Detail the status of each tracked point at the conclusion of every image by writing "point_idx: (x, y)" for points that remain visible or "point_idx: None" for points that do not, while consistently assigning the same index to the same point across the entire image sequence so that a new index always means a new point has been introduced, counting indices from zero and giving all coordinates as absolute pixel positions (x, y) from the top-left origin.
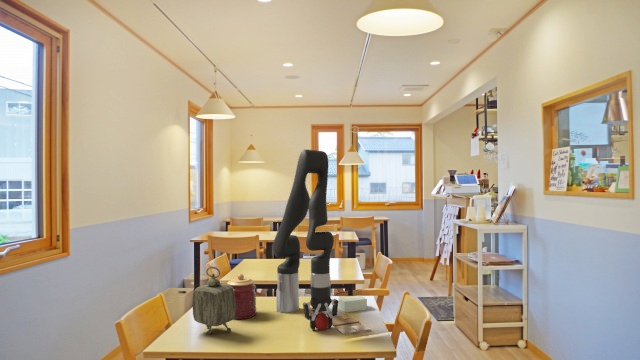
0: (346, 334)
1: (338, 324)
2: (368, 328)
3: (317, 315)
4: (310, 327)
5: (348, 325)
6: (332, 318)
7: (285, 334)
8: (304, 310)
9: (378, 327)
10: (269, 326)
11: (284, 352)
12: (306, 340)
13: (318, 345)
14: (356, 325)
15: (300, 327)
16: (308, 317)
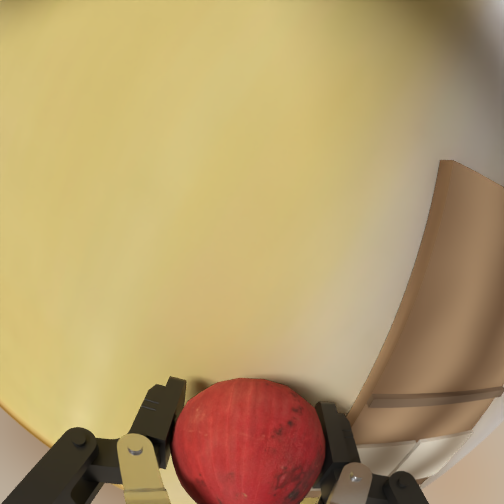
0: (314, 493)
1: (404, 405)
2: (435, 472)
3: (195, 501)
4: (152, 390)
5: (436, 416)
6: (490, 237)
7: (18, 275)
8: (31, 492)
9: (491, 427)
10: (3, 73)
11: (20, 422)
12: (105, 420)
13: None
14: (455, 425)
15: (144, 202)
16: (90, 478)
